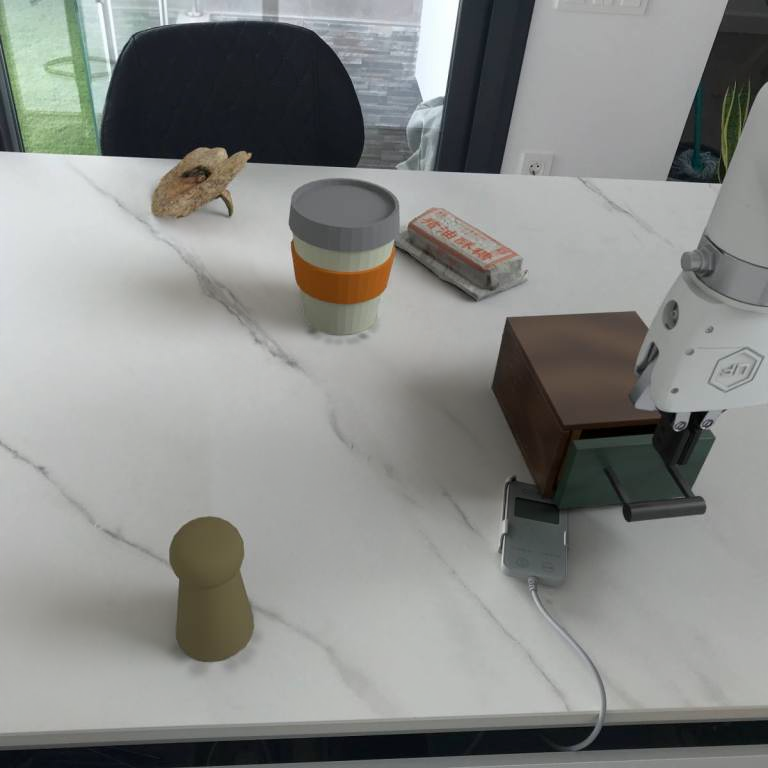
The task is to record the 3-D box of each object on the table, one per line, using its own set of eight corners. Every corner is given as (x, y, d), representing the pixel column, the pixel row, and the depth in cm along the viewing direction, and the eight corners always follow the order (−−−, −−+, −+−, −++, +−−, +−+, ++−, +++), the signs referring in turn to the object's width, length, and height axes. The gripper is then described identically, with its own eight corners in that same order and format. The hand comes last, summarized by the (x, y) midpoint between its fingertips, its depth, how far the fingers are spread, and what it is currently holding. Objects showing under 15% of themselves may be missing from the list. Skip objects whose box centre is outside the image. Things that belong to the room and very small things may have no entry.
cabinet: (680, 485, 77) (713, 413, 71) (541, 499, 74) (564, 425, 68) (611, 379, 89) (635, 310, 83) (491, 387, 86) (506, 316, 80)
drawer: (719, 544, 70) (751, 485, 65) (581, 560, 67) (604, 499, 62) (621, 392, 86) (641, 335, 81) (506, 400, 83) (520, 342, 78)
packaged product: (537, 250, 101) (483, 272, 96) (529, 282, 104) (477, 304, 99) (444, 196, 112) (391, 212, 106) (440, 226, 115) (388, 244, 109)
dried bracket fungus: (147, 244, 117) (118, 199, 112) (211, 191, 124) (186, 147, 119) (221, 246, 105) (191, 197, 101) (286, 188, 112) (261, 140, 108)
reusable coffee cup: (371, 280, 102) (379, 173, 92) (405, 335, 93) (418, 222, 83) (277, 292, 98) (276, 181, 88) (304, 351, 89) (305, 234, 79)
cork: (228, 581, 64) (221, 490, 57) (269, 633, 61) (266, 543, 54) (161, 619, 61) (144, 528, 54) (200, 676, 57) (187, 587, 50)
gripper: (678, 300, 49) (603, 495, 61) (880, 291, 52) (771, 479, 64) (628, 240, 55) (568, 429, 66) (813, 235, 58) (724, 417, 69)
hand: (668, 453), depth 65 cm, fingers closed
